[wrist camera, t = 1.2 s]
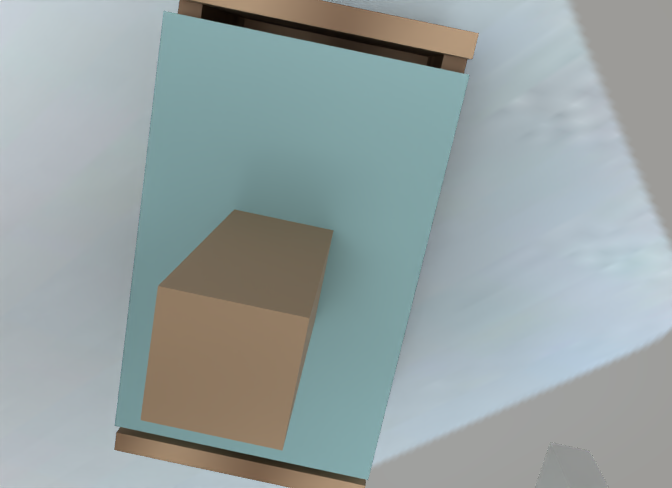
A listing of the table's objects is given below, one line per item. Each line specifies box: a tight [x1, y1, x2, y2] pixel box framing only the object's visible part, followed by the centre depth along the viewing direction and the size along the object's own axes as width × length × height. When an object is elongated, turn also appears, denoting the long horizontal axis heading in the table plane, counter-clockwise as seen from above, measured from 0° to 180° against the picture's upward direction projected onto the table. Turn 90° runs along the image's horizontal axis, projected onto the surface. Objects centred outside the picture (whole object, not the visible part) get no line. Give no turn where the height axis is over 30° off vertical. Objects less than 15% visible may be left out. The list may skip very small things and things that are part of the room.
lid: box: [115, 11, 469, 480], centre depth 20 cm, size 10×15×10 cm, turn 169°
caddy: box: [114, 0, 479, 488], centre depth 27 cm, size 10×18×9 cm, turn 169°
